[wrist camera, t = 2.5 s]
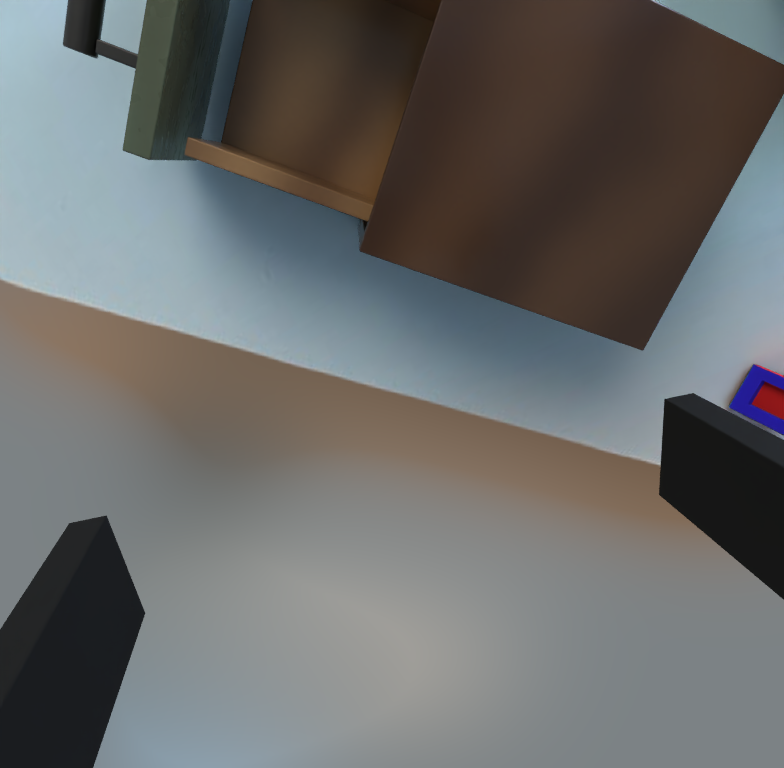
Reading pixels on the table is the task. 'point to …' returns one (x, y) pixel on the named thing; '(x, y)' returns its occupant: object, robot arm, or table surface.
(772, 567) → the robot arm
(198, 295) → the table surface
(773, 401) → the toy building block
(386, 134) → the drawer
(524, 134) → the cabinet
